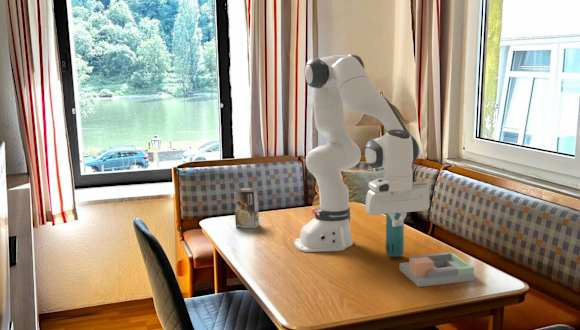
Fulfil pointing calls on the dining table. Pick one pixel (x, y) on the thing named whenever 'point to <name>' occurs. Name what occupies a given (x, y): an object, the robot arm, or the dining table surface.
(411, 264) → the block
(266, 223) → the dining table surface
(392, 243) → the beverage bottle
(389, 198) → the robot arm
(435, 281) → the tray
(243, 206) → the coffee box
